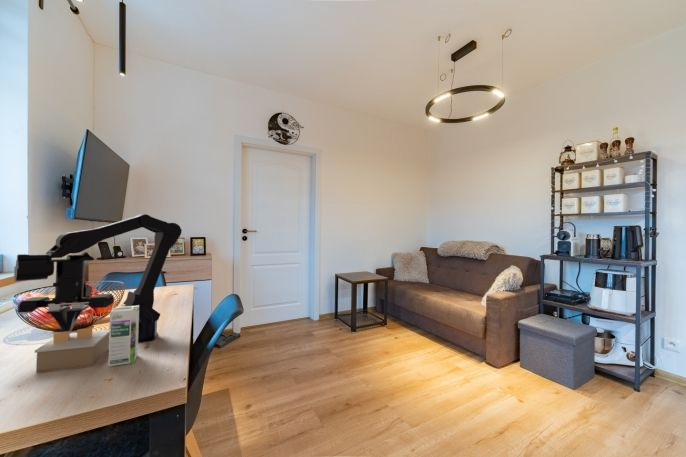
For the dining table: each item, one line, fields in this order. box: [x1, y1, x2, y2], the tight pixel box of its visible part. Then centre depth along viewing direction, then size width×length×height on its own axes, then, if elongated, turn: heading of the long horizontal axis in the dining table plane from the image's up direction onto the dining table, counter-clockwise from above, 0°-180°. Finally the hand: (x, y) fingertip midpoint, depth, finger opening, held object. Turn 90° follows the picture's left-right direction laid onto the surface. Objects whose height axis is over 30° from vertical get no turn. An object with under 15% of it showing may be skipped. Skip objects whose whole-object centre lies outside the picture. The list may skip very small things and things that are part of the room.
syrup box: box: [107, 305, 139, 368], centre depth 78 cm, size 6×6×14 cm
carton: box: [35, 334, 109, 374], centre depth 78 cm, size 11×12×5 cm
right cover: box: [48, 327, 110, 342], centre depth 81 cm, size 12×6×3 cm, turn 113°
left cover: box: [34, 331, 103, 354], centre depth 75 cm, size 12×6×3 cm, turn 113°
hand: (67, 333), depth 80 cm, fingers closed
